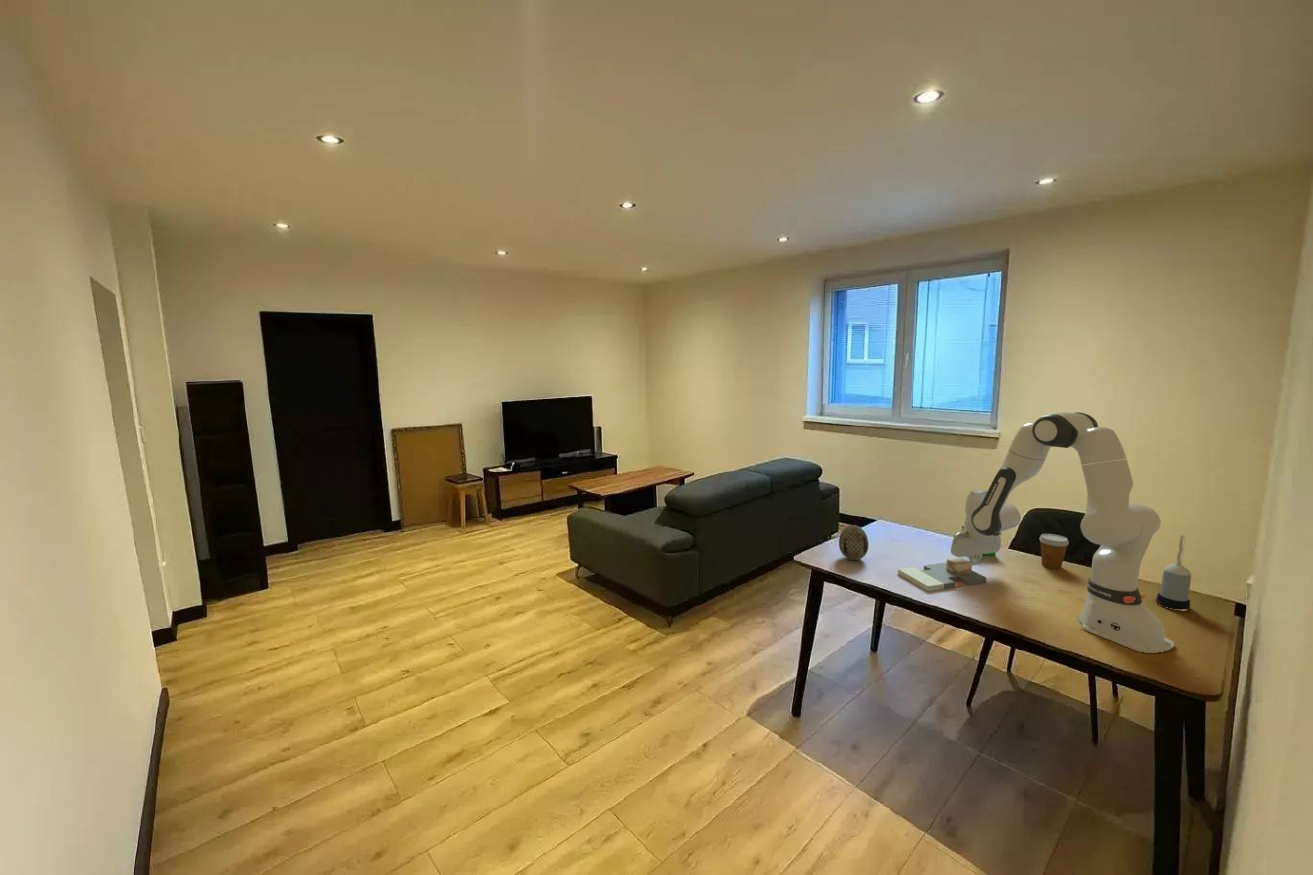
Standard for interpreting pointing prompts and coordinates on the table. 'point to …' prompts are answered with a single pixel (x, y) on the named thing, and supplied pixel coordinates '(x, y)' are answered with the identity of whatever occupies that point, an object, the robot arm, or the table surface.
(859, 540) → the decorative egg
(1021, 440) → the robot arm
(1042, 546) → the disposable coffee cup
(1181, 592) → the humidifier
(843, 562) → the table surface
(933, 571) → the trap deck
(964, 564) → the maple block
